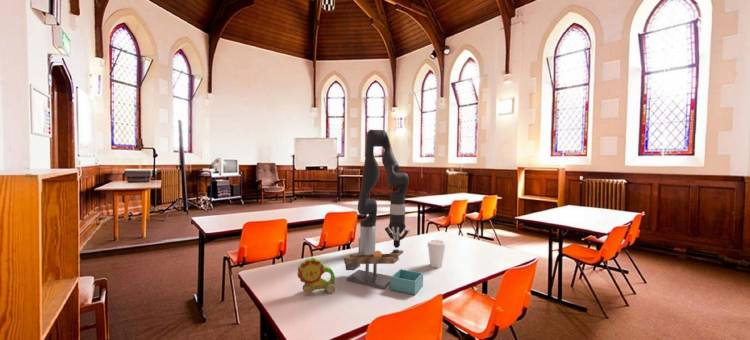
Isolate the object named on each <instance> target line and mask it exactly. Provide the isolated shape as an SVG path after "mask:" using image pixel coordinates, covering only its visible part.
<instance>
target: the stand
mask: <svg viewBox="0 0 750 340" xmlns="http://www.w3.org/2000/svg"><path fill="white" fill-rule="evenodd" d="M377 265H378V264H372V266H373V268H372V270H373V271H370V264H369V262H366V264H365V266H364V267H365V270H362V269H357V270H356V271H354V272H353V273H351V274H350V275H348V276H347V277H346V278H345V279H346V282H349V281H350V283H355V284H360V285H362V286H363V285H364V286H369V287H372V288H378V289H382V290H386V289H387V288H388V287H389V286H391V277H392V276H393V275H387V274H383V273H378V271H377V268H378V266H377Z"/></svg>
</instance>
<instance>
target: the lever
mask: <svg viewBox="0 0 750 340" xmlns="http://www.w3.org/2000/svg"><path fill="white" fill-rule="evenodd" d="M402 254H404V250H399V248H395V249H392V251H391V252H390V253H382V257H374V254H349V257H344V258H343V263H344V265H345V271H355V270H358V268H359V267H361V265H366V262H369V265H373V264H377V265H385V264H387V265H389V264H391V265H394V264H395V263H396V262H398V261H400V258H399V257H400V256H401V255H402Z"/></svg>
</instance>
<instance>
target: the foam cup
mask: <svg viewBox="0 0 750 340" xmlns="http://www.w3.org/2000/svg"><path fill="white" fill-rule="evenodd" d="M427 248H428V255H429V256H428V260H429V266H430V267H431V268H437V269H439V268H442V267H443V263H444V256H445V250H446V249H445V248H446V242H445V241H444V240H440V239H429V240H428V241H427Z"/></svg>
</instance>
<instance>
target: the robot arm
mask: <svg viewBox="0 0 750 340" xmlns="http://www.w3.org/2000/svg"><path fill="white" fill-rule="evenodd" d="M376 147H378V148H379V147H382V148H383V150H384V151H383V154H382V157H381V161H382V165H383V167H384V169H385V172H386V173H385V174H386V182H387V184H388V185H389V186H390V187H393V188H397V190H395V191H392V192H391V193H390V203H389V204H390V205H389V224H388V226H387V227H385V228H384V230H385V232H386V233H387V236H388V237H389V238H390V239H392V240H393V247H394V248H395V249H399V248H400V246H401V240H404V238H406V236H407V235H408V234H409V233H410V231H411V230H410V229H408V228H407V226H406V224H405V223H406V204H405V203H406V192H407V189H408V187H409V181H410V180H409V179H410V178H409V175H408V173H406V172H403V171H402V172H401V171H400V165H399V163H398V161H397V158H396V157H395V155H394V153H393V149H392V145H391V141H390V137H389V135H388V133H387V131H385V130H384V129H369V130H368V131H367V133H366V141H365V158H364V165H363V171H362V177H361V178H362V180H361V187H360V192H359V197H358V200H357V201H358V202H357V203H358V204H357V212H358V214H359V215H362V216H363V215H365V216H366V215H367V216H366V217H364V218H363V219H361V220H360V221H359V224H360V225H359V226H360V229H359V238H358V254H374V252H375V251H376V233H377V232H376V228H377V227H376V225H377V217H378V216H377V214H378V213H377V212H378V202H377V200H376V198H368V196H369V194H370V192H371V191H372V189H373V188H374V187H375V186H376V184H377V183H378V181H379V177H380V169H381V168H380V165H379V164H378V162H377V160H376V157H375V153H374V151H375V150H374V149H375V148H376ZM399 171H400V172H399ZM358 254H357V255H358Z"/></svg>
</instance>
